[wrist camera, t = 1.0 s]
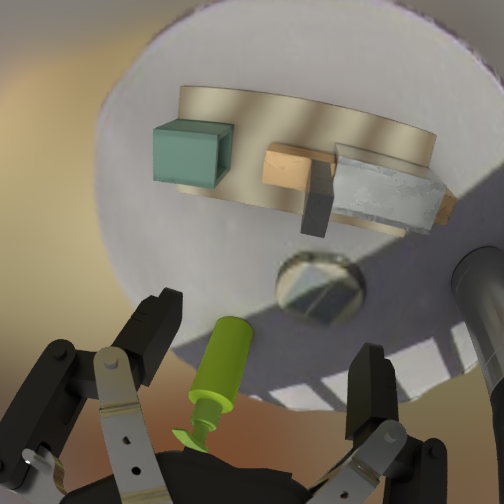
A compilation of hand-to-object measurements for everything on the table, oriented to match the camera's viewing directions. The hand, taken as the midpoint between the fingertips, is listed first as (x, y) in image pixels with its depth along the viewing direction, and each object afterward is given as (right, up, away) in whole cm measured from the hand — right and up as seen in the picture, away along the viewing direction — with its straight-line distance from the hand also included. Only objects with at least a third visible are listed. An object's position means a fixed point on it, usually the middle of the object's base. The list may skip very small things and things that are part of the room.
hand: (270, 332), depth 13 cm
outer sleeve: (+12, +11, +17) cm, 24 cm away
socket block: (-6, +15, +18) cm, 24 cm away
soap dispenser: (-4, -8, +33) cm, 34 cm away
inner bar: (+10, +10, +15) cm, 20 cm away
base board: (+4, +13, +17) cm, 22 cm away
